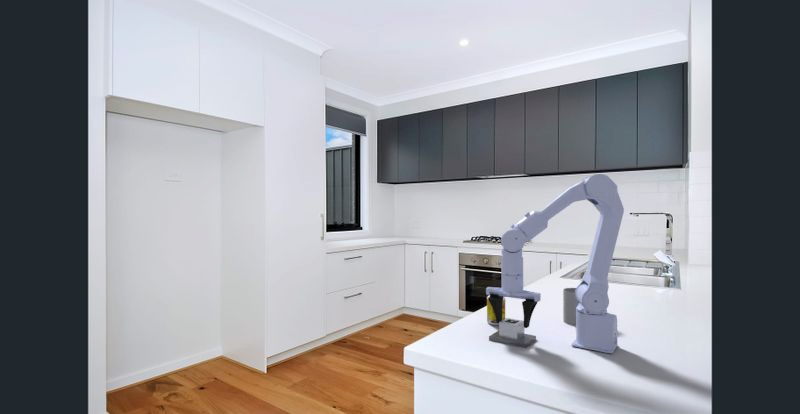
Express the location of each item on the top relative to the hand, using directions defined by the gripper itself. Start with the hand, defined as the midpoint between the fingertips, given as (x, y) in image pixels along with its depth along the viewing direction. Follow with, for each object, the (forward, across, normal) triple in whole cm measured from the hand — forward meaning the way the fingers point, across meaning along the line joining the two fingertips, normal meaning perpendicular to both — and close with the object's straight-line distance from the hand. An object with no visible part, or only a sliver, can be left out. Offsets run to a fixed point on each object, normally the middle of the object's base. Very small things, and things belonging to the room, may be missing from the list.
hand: (512, 324), depth 107 cm
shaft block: (+4, 0, 0) cm, 4 cm away
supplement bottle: (+4, -10, +12) cm, 16 cm away
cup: (+4, +10, +28) cm, 30 cm away
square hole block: (+3, 0, 0) cm, 3 cm away
